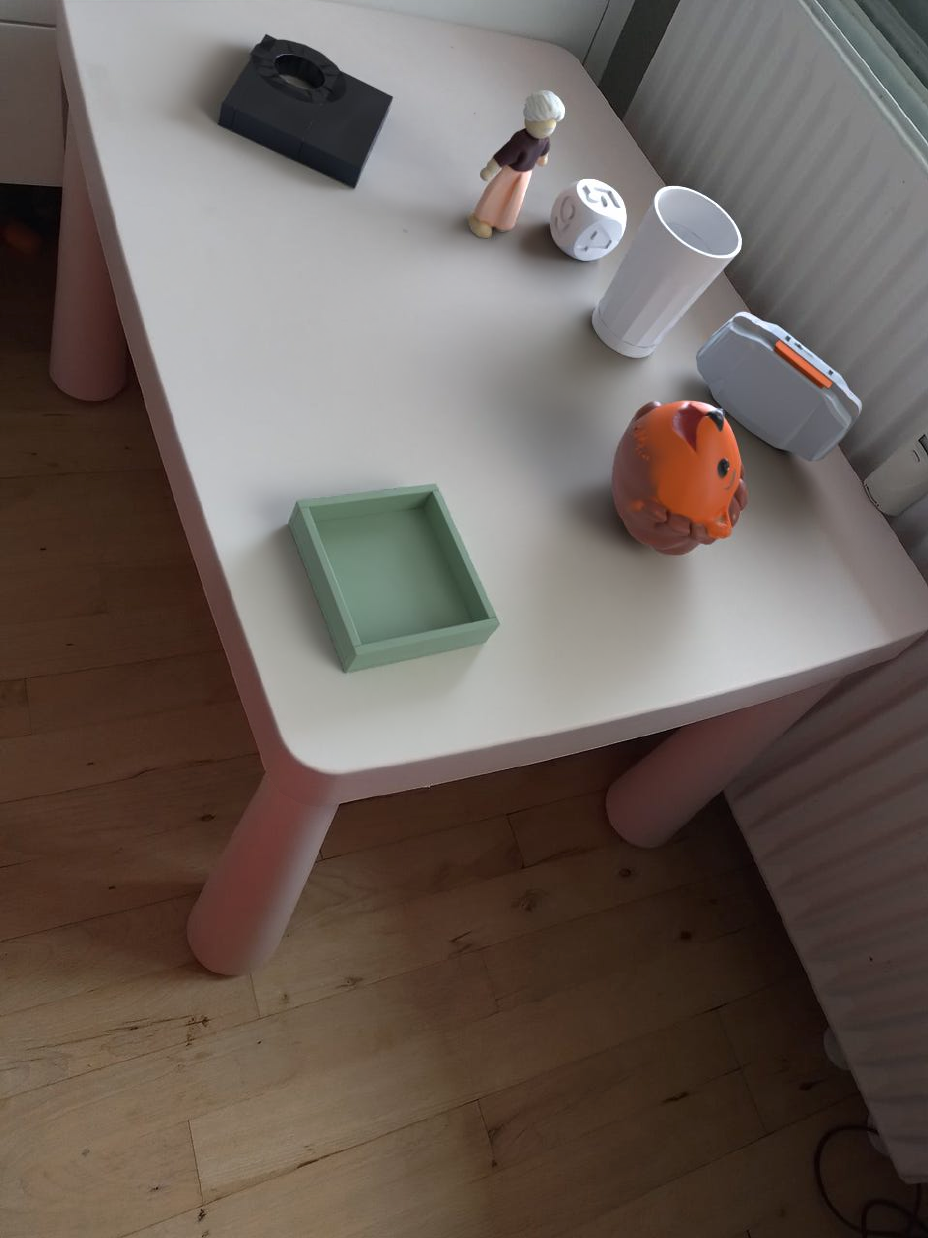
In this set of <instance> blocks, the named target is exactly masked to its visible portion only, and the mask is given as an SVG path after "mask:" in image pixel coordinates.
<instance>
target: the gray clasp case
mask: <svg viewBox="0 0 928 1238" xmlns="http://www.w3.org/2000/svg"><path fill="white" fill-rule="evenodd" d="M695 360H696V368H697V371H698V373H699V374H700V376H701V378H702V379H703V381H704V382H705V384H707V385H708V388H709V390H710V391H711V395H712V398H713V399H714V400H715V402H716V403H717V404H718V405H719V406H720V407H721V409H723V410H724V411H725V413H727V414H728V415H730V416H731V417H732V418H733V419H734V420H735V421H737V422H738V423H739V424H740V425H741V426H743V427H744V428H745V429H746V430H748V431H749V432H750V433H752V434H753V435H755V436H756V437H758V439H761V440H762V441H763V442H765V443H767V444H768V445H770V446H772V447H773V448H775V449H780V450H784V451H787V452H790V453H793V454H794V455H796V456H798V457H800V458H802V459H803V460H805V461H808V462H819V461H822V460H824V459H825V458H826V457H827V456H828V455H830V453H831V452H833V450H835V448H836V447H838V445H839V444H840V443H841V442H842V440H843V439H844V438H845V437H846V435H848V432H849V431H850V430H851V428H852V427H853V426H854V424H855V423H856V421H857V419H858V418H859V416H860V414H861V412H862V409H863V403H862V402H861V400H860V398H859V397H858V396H856V395H855V393H854V392H852V391H851V390H850V389H849V386H848V384H847V383H846V381H845V380H844V378H843V377H842V374H841V375H840V373H838V371H836V370H834V369H833V368H832V367H831V366H829V365H828V364H827V363H826V362H825V361H823V360H822V359H821V358H819V356H817V355H816V354H815V353H813V352H812V351H811V350H809V349H808V347H806V346H805V345H803V344H802V343H801V342H799V341H798V340H797V339H796V338H795V337H793V336H792V335H791V334H790V333H789V332H787V331H786V330H785V329H784V328H782V327H780V326H779V325H778V324H775V323H771V322H769V321H768V322H767V321H764V320H762V319H760V318H758V317H757V316H755V315H753V314H751V313H750V312H747V311H740V312H737V313H735V314H734V316H733V317H731V318H730V319H729V320H728V321H726V323H724V324H723V325H722V326H721V327H720V328H719V329H718V330H717V331H715V332H714V334H712V335H711V337H709V339H708V340H707V341H706V342H705V343H704V344H703V345H702V347H700V349H699V350H698V351H697V353H696V356H695Z"/></svg>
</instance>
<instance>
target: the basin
mask: <svg viewBox="0 0 928 1238" xmlns="http://www.w3.org/2000/svg"><path fill="white" fill-rule="evenodd" d="M438 485H439V484H438V483H428V484H421V485H412V486H404V487H397V488H389V489H379V490H371V491H364V492H355V493H347V494H338V495H331V496H330V495H329V496H322V497H314V498H307V499H306V498H305V499H298V500H296V501H295V502H294V503H295V504H294V506H293V508H292V512H291V514H290V517H289V519H288V522H287V523H288V526H289V529H290V531H291V534H292V537H293V539H294V542H295V545H296V547H297V550H298V553H299V555H300V558H301V560H302V563H303V566H304V568H305V571H306V574H307V576H308V579H309V581H310V585H311V587H312V589H313V593H314V595H315V597H316V601H317V603H318V606H319V608H320V610H321V613H322V616H323V619H324V622H325V624H326V627H327V629H328V632H329V635H330V638H331V640H332V642H333V645H334V647H335V650H336V652H337V656H338V658H339V661H340V664H341V666H342V669H343V671H344V673H345V674H350V673H353V672H358V671H364V670H368V669H372V668H376V667H381V666H385V665H389V664H390V665H391V664H394V663H395V664H396V663H399V662H405V661H407V660H413V659H418V658H421V657H426V656H430V655H431V656H432V655H435V654H440V653H445V652H449V651H455V650H457V649H463V648H467V647H468V648H469V647H471V646H476V645H481V644H486V643H487V642H488V641H489V639H490V638H491V637H492V635H494V633H495V632H496V631H497V629H498V628H499V627H500V626H501V623H500V621H499V619H498V616H497V613H496V612H495V610H494V608H493V605H492V602H491V601H490V598H489V596H488V594H487V592H486V590H485V587H484V585H483V583H482V581H481V578H480V575H479V574H478V572H477V570H476V567H475V565H474V563H473V560H472V559H471V557H470V554H469V552H468V549H467V548H466V545H465V543H464V541H463V538H462V536H461V534H460V532H459V529H458V528H457V525H456V522H455V520H454V518H453V516H452V514H451V512H450V509H449V507H448V505H447V503H446V501H445V498H444V496H443V494H442V492H441V490H440V488H439V486H438Z"/></svg>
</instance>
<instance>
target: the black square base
mask: <svg viewBox="0 0 928 1238" xmlns="http://www.w3.org/2000/svg"><path fill="white" fill-rule="evenodd" d="M282 76H290V77H294V78H297V79H299V80H302V81H303V82H305V83H307V84H308V85H309V86H311V87H312V88H305V87H300V86H298V85H295V84H294V83H291V82H289V81H287V80H286V78H283V77H282ZM393 99H394V96H393V95H391V94H389V93H387V92H385V91H382V90H381V89H379V88H376V87H374V86H373V85H372V84H368V83H367V82H364V81H362V80H360V79H359V78H357V77H354V76H352V75H350V74H349V73H346V72H345V71H343V70H340V67H338V65H337V64H336V63H335V62H334V61H332V60H331V59H330V58H328V57H327V56H326V55H325V54H323V53H322V52H320V51H318V50H317V49H315V48H314V47H311V46H308V45H306V44H304V43H300V42H296V41H293V40H289V39H277V38H276V37H273V36H272V35H269V34H268V33H265V34H264V35H263V37H262V39H261V41H260V42H258V43H257V44H256V43H255V45H254V47H253V48H252V50H251V51H250V53H249V57H248V61H247V62H246V64H245V66H244V67H243V69H242V70H241V72H240V73H239V75H238V76H237V78H236V80H235V81H234V82H233V85H232V86H231V88H230V89H229V91H228V92H227V93H226V95H225V97H224V98H223V100H222V102H221V105H220V109H219V110H220V111H219V115H218V120H217V125H218V126H220V127H223V128H225V129H227V130H229V131H231V132H232V133H235V134H237V135H240V136H242V137H243V138H246V139H248V140H250V141H252V142H254V143H256V144H258V145H261V146H263V147H265V148H267V149H269V150H271V151H274V152H276V153H278V154H280V155H282V156H284V157H286V158H289V159H291V160H292V161H295V162H297V163H299V164H300V165H304V167H307V168H309V169H312V170H314V171H316V172H318V173H320V174H322V175H324V176H327V177H329V178H331V179H333V180H335V181H337V182H339V183H342V184H344V185H346V186H348V187H350V188H352V189H356V187H357V184H358V182H359V181H360V178H361V175H362V173H363V171H364V169H365V166H366V164H367V162H368V161H369V157H370V155H371V153H372V151H373V148H374V146H375V144H376V142H377V139H378V137H379V135H380V134H381V133H380V132H381V130H382V128H383V126H384V124H385V122H386V119H387V117H388V114H389V112H390V108H391V105H392V102H393Z"/></svg>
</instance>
